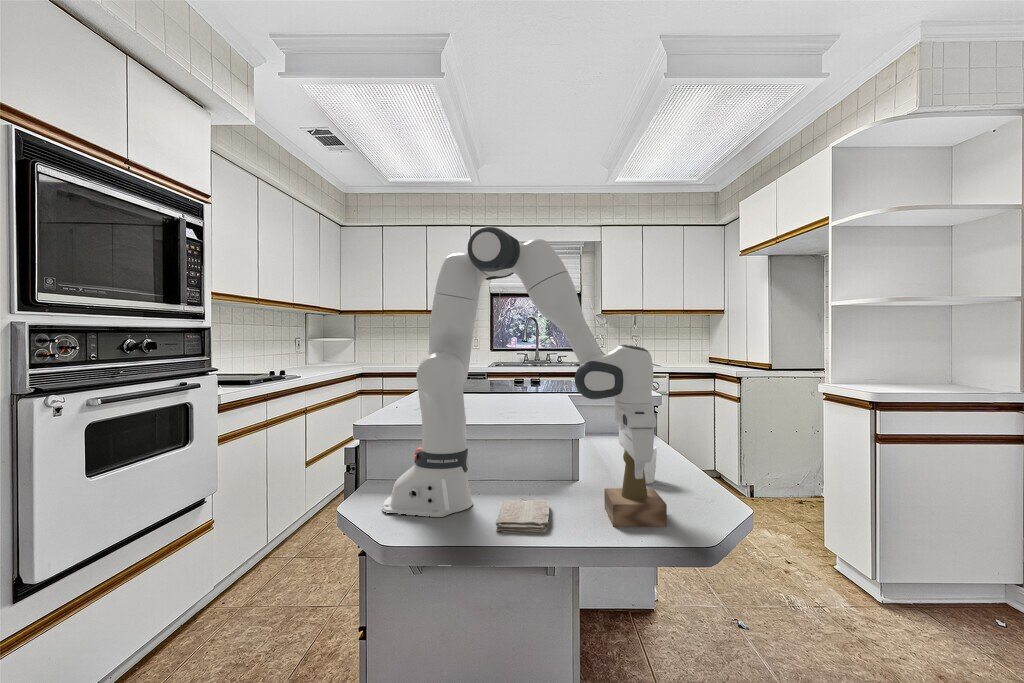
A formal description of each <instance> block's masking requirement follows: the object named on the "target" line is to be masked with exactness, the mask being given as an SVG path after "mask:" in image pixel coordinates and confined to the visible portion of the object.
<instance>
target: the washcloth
mask: <svg viewBox="0 0 1024 683" xmlns="http://www.w3.org/2000/svg"><path fill="white" fill-rule="evenodd" d="M549 515H550V500H546V499H542V500H541V499H534V500H517V499H512V500H510V499H505V500H503V501H502V504H501V509H499V513H498V516H497V519H496V521H495V526H496V529H495V532H496V533H499V532H500V533H501V532H502V533H508V534H530V535H531V534H537V535H538V534H539V535H541V534H545V533H546V532H547V531H548V528H549V521H548V520H549V518H550V516H549Z"/></svg>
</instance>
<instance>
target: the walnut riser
mask: <svg viewBox="0 0 1024 683" xmlns="http://www.w3.org/2000/svg"><path fill="white" fill-rule="evenodd" d="M646 488H647V487H646ZM621 495H622V487H621V488H620V487H619V488H618V487H617V488H614V487H613V488H611V487H610V488H606V487H605V488H604V510H606V511H605V512H607V513H606V514H608V515H607V516H608V518H609V521H610V523H611V525H612V527H613V528H614V527H620V528H621V527H625V528H626V527H628V528H629V527H635V528H636V527H667V524H668V522H667V520H668V518H667V513H668V512H667V511H668V510H667V508H668V507H667V503H666V502H665V500H664V499H663V498H662V497H661V496H660V495H659V493H658V492H657V491H656V490H655V488H650V487H649V488H647V496H648V497H647V498H646V499H643V500H630V499H626V498H624V497H622V496H621Z"/></svg>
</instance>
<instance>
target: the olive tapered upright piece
mask: <svg viewBox="0 0 1024 683" xmlns="http://www.w3.org/2000/svg"><path fill="white" fill-rule="evenodd" d="M622 455H623V456H622V459H623V462H624V463H625V465H624V473H623V474H624V475H623V480H622V481H623V482H622V487H621V488H622V495H621V496H622V497H624V498H626V499H630V500H643V499H646V498H647V497H648V496H647V484H646V481H645V473H644V470H643V478H642V479H636V478H635V476H634V469H635V463H634V460H633V458H632V457H631V456H630V455H629V454H628V453H627V451H625V452H624V451H623V454H622Z"/></svg>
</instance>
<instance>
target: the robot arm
mask: <svg viewBox="0 0 1024 683" xmlns="http://www.w3.org/2000/svg"><path fill="white" fill-rule="evenodd" d="M514 274H515V275H516V276H517V277H518V278H519V280H521V283H522V284H523V286H524V288H525V290H526V293H527V295H528V296H529V298H530V300H531V302H532V303H533V305H534V306H535V308H536V309H537V311H538V312H539V314H541V316H542V317H544V319H546V320H548V321H549V322H551V323H552V324H553V325H555V326H556V327H557V328H558V329H559V330H560V331H561V332H562V334H564V336H565V338H566V340H567V342H568V344H569V345H570V347H571V349H572V351H573V353H574V355H575V357H576V359H577V360H578V362H579V367H578V368H577V370H576V372H575V374H574V384H575V385H574V386H575V387H576V390H577V391H578V392H579V394H580V395H582V396H583V397H584V398H586V399H590V400H598V401H599V400H603V399H607V398H611V397H613V398H614V421H615V422H617V423H618V443H619V445H620V446H621V447H622V448H623V453H624V452H625V451H627V453H628V454H629V455H630V456H631V457H632V458H633V460H634V463H635V469H634V476H635V478H636V479H642V478H643V470H644V467H645V463H649V462H651V460H652V456H653V446H654V444H655V443H654V440H655V439H654V438H655V431H654V429H655V428H657V418H656V416H655V410H654V398H653V390H652V389H653V387H654V364H653V358H652V355H651V352H649V351H648V350H647V349H646V348H644V347H641V346H636V345H631V344H619V345H617V347H615V348H614V349H612V350H610V351H608V352H607V353H604V352H603V350H602V349H601V348H600V345H599V344H598V342H597V340H596V338H595V336H594V334H593V333H592V331H591V329H590V328H589V325H588V324H587V321H586V320H585V316H584V313H583V311H582V310H583V309H582V306H581V303H580V300H579V296H578V293H577V290H576V287H575V284H574V282H573V280H572V277H571V274H570V273H569V271H568V269H567V268H566V266H565V264H564V263H563V261H562V259H561V257H560V256H559V255H558V253H557V252H556V250H555V249H554V248H553V246H552V245H551V244H550V243H549V241H547V240H545V239H542V238H536V239H535V238H534V239H530V240H528V241H525V242H524V243H520V242H519V240H518V239H517V238H515V237H514V236H512V235H511V234H509V233H507V232H506V231H504V230H503V229H501V228H499V227H495V226H484V227H480V228H479V229H477V230H475V231H474V232H473V233H472V234H471V236H470V237H469V239H468V243H467V252H466V253H462V252H457V253H456V252H455V253H451V254H450V255H447V256H446V257H445V259H444V260H443V262H442V265H441V267H440V271H439V273H438V276H437V280H436V285H435V289H434V290H435V291H434V296H433V301H432V305H431V306H432V307H431V314H430V318H429V319H430V320H429V324H428V325H429V344H428V345H429V346H428V354H427V355H426V357H423V359H422V360H421V361H420V362H419V365H418V367H417V370H416V382H417V392H418V399H419V400H418V401H419V407H420V413H421V430H422V431H421V432H422V434H421V437H422V438H421V439H422V442H421V444H422V447H421V446H420V447H417V449H415V452H414V454H413V455H414V456H413V460H414V465H412V466H411V467H410V468H409V469H407V470H405V471H404V473H403V474H402V475H400V476H399V477H398V478H397V479H396V480H395V482H394V484H393V488H392V492H391V495H390V496H388V497H387V498H386V499H385V500H384V501H383V504H382V508H383V510H384V511H385V512H389V513H398V514H397V515H401V514H406V516H415V515H418V517H429V516H430V517H433V518H443V517H446V516H448V515H450V514H455V513H459V512H462V511H465V510H468V509H469V508H470V507H472V506H473V505H474V500H473V498H472V494H471V489H470V483H469V477H468V470H469V465H470V464H469V463H470V462H469V449H468V448H467V416H466V410H465V409H466V407H465V399H464V398H465V396H464V384H465V383H466V381H467V379H468V375H469V368H470V361H471V353H472V352H471V351H472V345H473V332H474V327H475V322H476V315H477V309H478V302H479V297H480V290H481V287H482V284H483V282H484V281H485V280H486V281H490V280H491V281H492V280H496V279H497V280H498V279H504V278H508V277H511V276H512V275H514ZM383 510H382V511H383Z"/></svg>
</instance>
